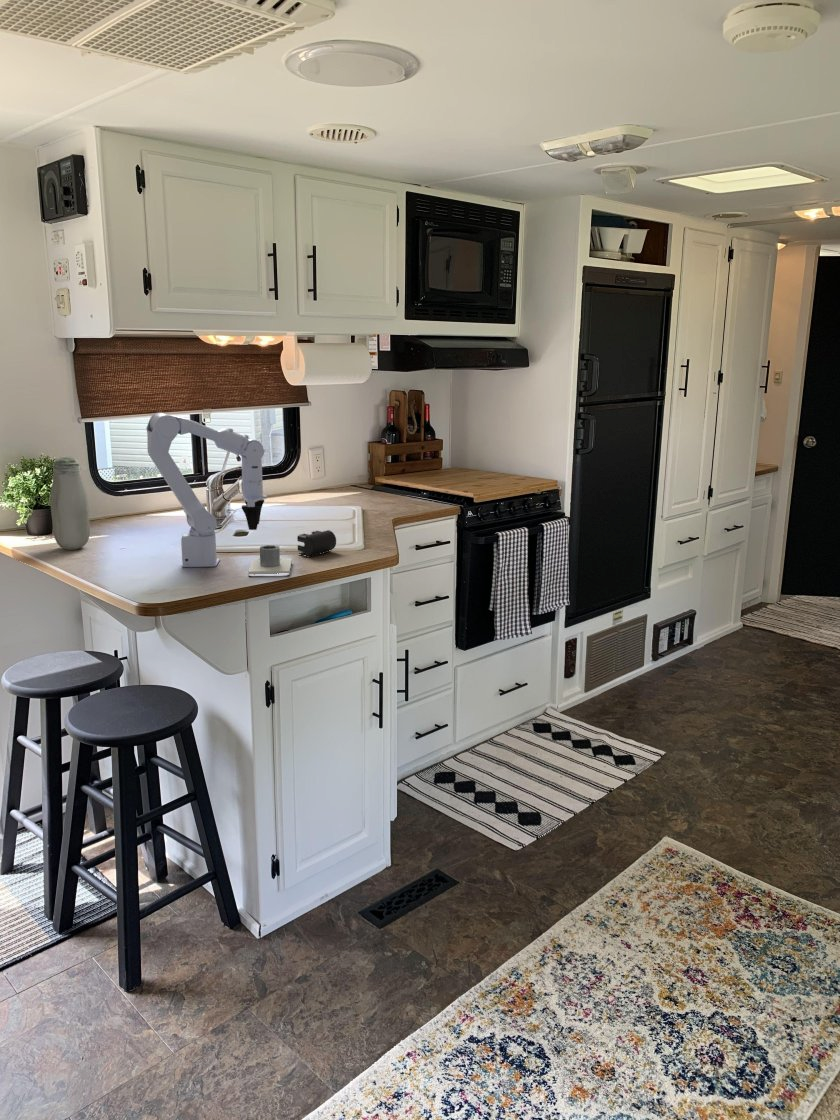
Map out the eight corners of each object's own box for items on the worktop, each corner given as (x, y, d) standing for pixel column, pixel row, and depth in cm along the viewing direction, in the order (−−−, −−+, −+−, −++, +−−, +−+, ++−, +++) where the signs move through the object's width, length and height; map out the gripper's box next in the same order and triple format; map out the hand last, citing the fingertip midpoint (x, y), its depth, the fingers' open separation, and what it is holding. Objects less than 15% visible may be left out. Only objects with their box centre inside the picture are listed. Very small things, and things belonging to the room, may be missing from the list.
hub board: (248, 576, 230) (247, 557, 229) (253, 564, 244) (252, 545, 242) (289, 576, 231) (289, 556, 230) (291, 563, 245) (291, 544, 243)
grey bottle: (78, 553, 253) (70, 460, 247) (48, 551, 256) (39, 458, 249) (98, 546, 263) (90, 455, 256) (68, 544, 265) (60, 454, 258)
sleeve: (269, 568, 233) (268, 550, 232) (256, 564, 237) (256, 547, 235) (283, 564, 237) (283, 547, 236) (271, 561, 241) (270, 544, 239)
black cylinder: (313, 559, 250) (313, 536, 249) (296, 555, 254) (296, 533, 253) (336, 553, 258) (336, 531, 256) (320, 549, 262) (319, 528, 260)
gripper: (264, 484, 238) (266, 531, 242) (268, 476, 252) (269, 521, 255) (238, 484, 237) (240, 532, 241) (244, 477, 251) (245, 521, 255)
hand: (254, 526), depth 248 cm, fingers open, 7 cm apart
